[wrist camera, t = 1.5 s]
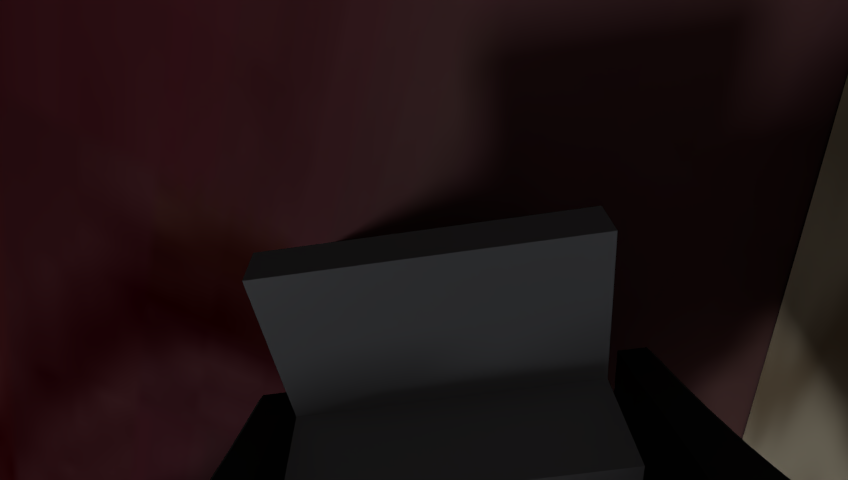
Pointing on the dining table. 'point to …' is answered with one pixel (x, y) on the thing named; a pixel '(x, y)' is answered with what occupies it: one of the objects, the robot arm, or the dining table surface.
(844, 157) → the tan slotted block
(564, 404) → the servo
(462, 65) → the dining table surface
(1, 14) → the dining table surface
